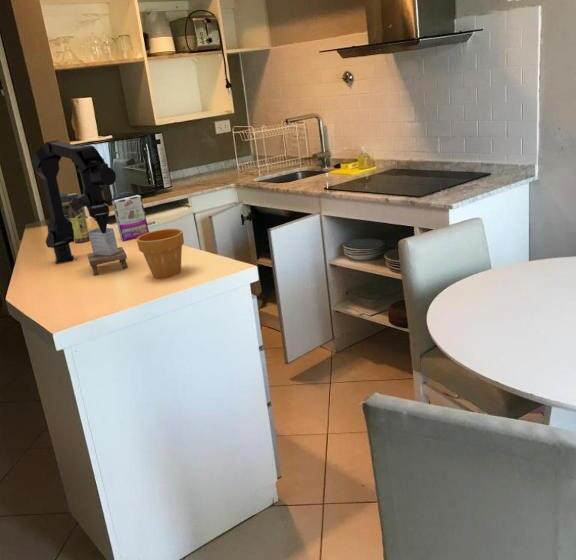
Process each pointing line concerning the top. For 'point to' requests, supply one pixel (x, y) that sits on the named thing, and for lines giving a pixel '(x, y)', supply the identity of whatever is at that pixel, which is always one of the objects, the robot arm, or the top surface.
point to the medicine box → (103, 242)
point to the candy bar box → (130, 217)
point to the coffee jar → (65, 204)
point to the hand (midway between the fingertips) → (102, 230)
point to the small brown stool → (107, 259)
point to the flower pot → (162, 251)
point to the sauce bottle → (78, 222)
